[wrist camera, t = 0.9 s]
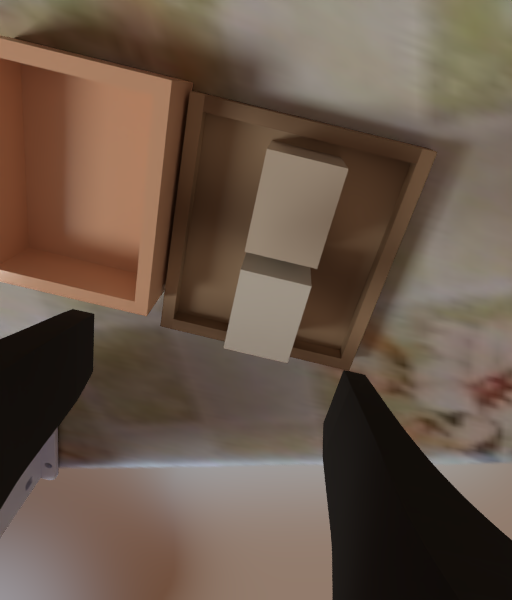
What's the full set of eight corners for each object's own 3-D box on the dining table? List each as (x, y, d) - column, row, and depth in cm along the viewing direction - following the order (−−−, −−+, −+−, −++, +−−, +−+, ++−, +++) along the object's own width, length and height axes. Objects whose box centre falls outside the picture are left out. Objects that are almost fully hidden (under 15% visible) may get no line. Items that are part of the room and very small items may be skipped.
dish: (166, 286, 21) (146, 316, 18) (24, 252, 21) (-19, 277, 18) (193, 82, 17) (171, 80, 14) (12, 38, 17) (-47, 26, 14)
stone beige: (314, 244, 19) (317, 268, 16) (252, 229, 19) (244, 251, 16) (340, 157, 17) (348, 168, 15) (271, 140, 17) (266, 148, 15)
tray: (346, 357, 22) (348, 370, 21) (167, 314, 22) (160, 326, 21) (428, 148, 17) (437, 152, 16) (196, 91, 17) (190, 91, 16)
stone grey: (288, 329, 21) (287, 363, 19) (232, 316, 21) (223, 348, 19) (309, 259, 19) (311, 286, 17) (248, 245, 19) (240, 269, 17)
